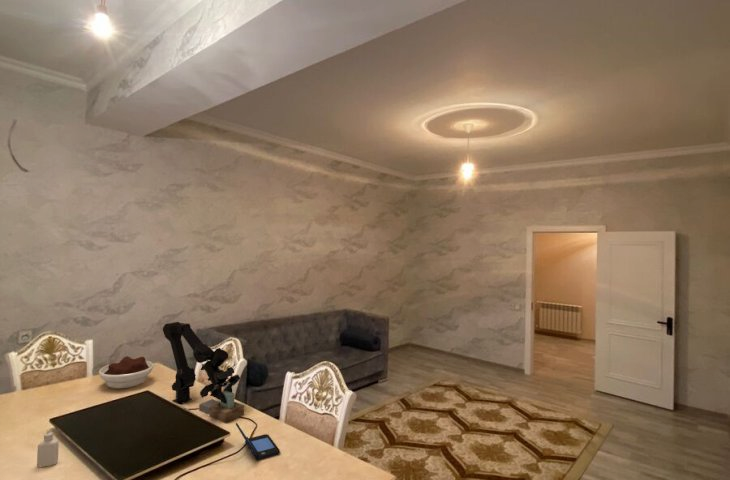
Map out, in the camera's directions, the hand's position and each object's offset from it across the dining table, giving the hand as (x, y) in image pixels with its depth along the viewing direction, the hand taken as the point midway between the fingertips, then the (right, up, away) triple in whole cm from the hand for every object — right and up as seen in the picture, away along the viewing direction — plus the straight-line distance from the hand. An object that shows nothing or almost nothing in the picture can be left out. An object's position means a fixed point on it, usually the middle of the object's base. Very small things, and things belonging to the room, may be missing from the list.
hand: (229, 401), depth 173 cm
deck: (-10, -6, +6) cm, 14 cm away
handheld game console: (+20, -8, -26) cm, 34 cm away
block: (-1, -5, +1) cm, 5 cm away
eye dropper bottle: (-49, -5, -40) cm, 64 cm away
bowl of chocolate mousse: (-67, -5, +32) cm, 74 cm away
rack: (-1, -7, +1) cm, 7 cm away
